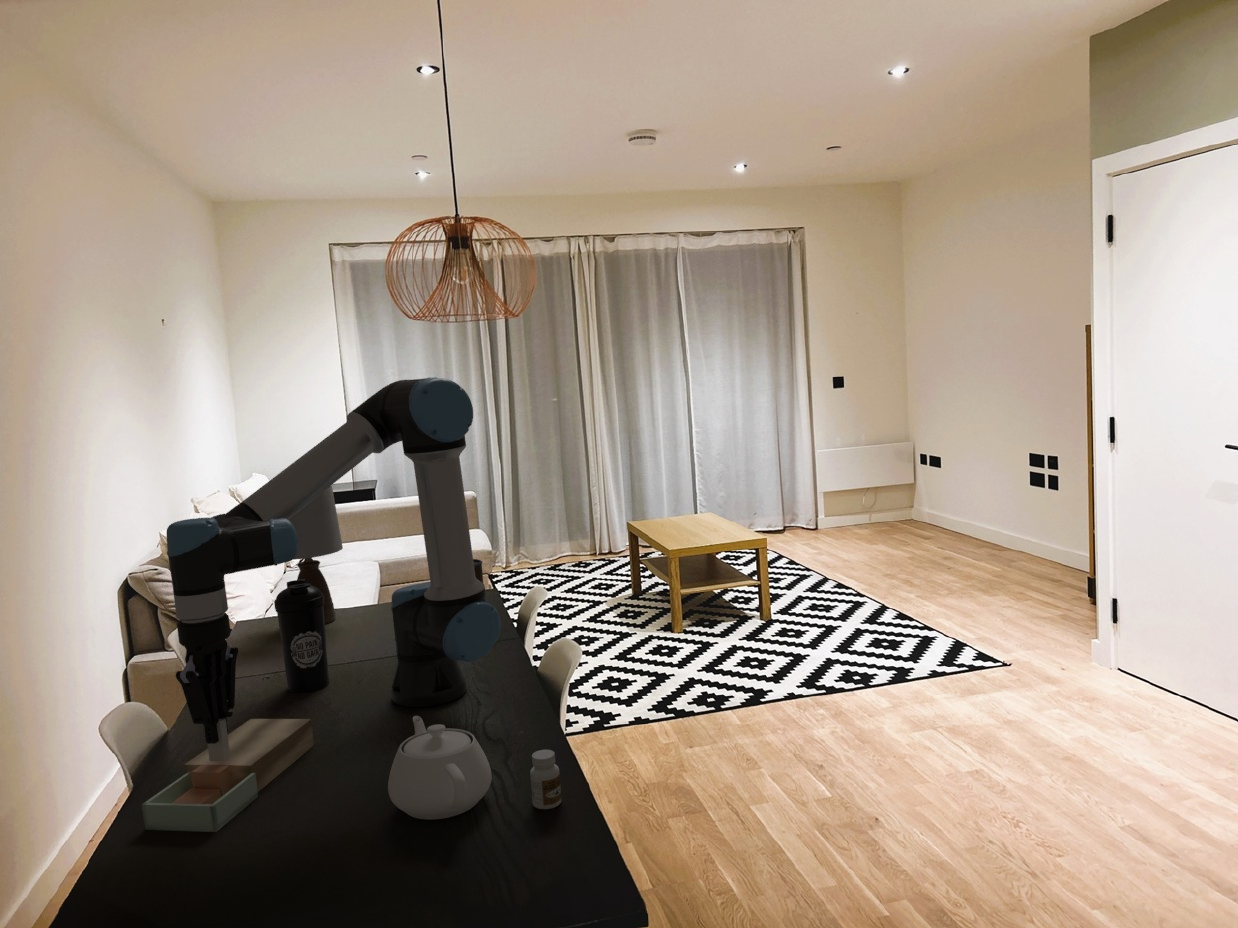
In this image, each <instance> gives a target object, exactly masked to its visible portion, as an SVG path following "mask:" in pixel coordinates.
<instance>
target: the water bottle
mask: <svg viewBox="0 0 1238 928" xmlns="http://www.w3.org/2000/svg"><path fill="white" fill-rule="evenodd" d="M273 602H274V603H273V604H274V609H275V612H276V614H277V622H278V627H279V634H280V641H281V647H282V648H281V649H282V655H283V662H284V668H285V669H284V670H285V678H286V684H287V690H288V692H290V693H295V694H302V693H303V694H304V693H310V692H312V693H313V692H316V691H319V690H321V689H325V688H326V687H327V686H329V683H330V678H329V666H328V665H329V664H328V663H329V662H328V651H327V638H326V636H327V635H326V624H325V622H324V609H323V605H324V594H323V593H321V591H320V590H319V589H318V588H317V587H314V586H311V584H310V583H306V582H305V579H300V580H297V579H295V580H289V581H286V588H285V589H284V588H283V589H282V590H281V591H280V592H279V593H277V596H276V598H275V599H274V601H273Z"/></svg>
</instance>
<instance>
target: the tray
mask: <svg viewBox="0 0 1238 928" xmlns="http://www.w3.org/2000/svg"><path fill="white" fill-rule="evenodd" d="M191 788H193V785H192V777H191V772H188V773H186V774H183V775H182V776H181V777H178V779H176V780H174V781H173V782H172V783H171V784H168V785H167V786H166V787H165V788H163V789H162V790H160V791H159V792H158V793H156V794H155V795H153V796H152V797H150V798H148V800H146V801H145V802H143V803H142V804H141V810H142V817H143V825H144V830H145V831H146V830H147V831H167V832H168V831H173V832H174V831H175V832H203V833H204V832H207V833H217V832H218V831H219V830H221V829H222V828H223V827H224V826H225V825H226V824H228V823H229V822H230V821H231V820H233V819H234V818H235V817H236V816H237V815H238V814H239V813H241V812H242V811H243V810H245V808H246V807H249V805H250V804H251V803H253V802H254V801H255V800H256V799H257V798H259V792H258V791H257V782H256V774H255V773H251V774H250V775H249V776H247V777H246V778H245V779H244V780H242V781H241V782H240V783H239V784H237V785H236V786H235V787H233V788H232V789H231V790H230V791H228V792H227V793H226V794H225V795H223V796H222V797H221V798H219V799H218V800H217V801H216V802H214V803H213V804H177V803H172V802H174V801H175V800H176V799H178V798H179V797H180V796H182V795H183V794H185V793H186V792H187V791H189V790H190V789H191Z"/></svg>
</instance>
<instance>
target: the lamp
mask: <svg viewBox="0 0 1238 928" xmlns="http://www.w3.org/2000/svg"><path fill="white" fill-rule="evenodd" d="M288 520H289V521H290V522H291V523H292V524H293V526H294V528H295V530H296V533H297V538H298V551H297V555H296V556H295V558H294V559H293V560H302V559H304V560H303V561H301V562H298V563H297V564H296V567H297V568H298V569H299V572H298V575H297V578H296V580H300V579H305V582H306V583H310V584H311V586H314V587H317V588H318V589H319V590H320V591H321V593H323V594H324V605H323V609H324V622H325V625H326V624H330V623H332V622H334V620H336V617H337V616H336V611H335V606H334V602H333V598H332V596H331V591H330V588H329V585H328V582H327V581H326V578H325V576H324V575H323V573H322V570H321V569H320V564H321V561H320V560H316V559H313V558H318V557H322V556H323V557H324V556H328V555H331V554H332V555H333V554H335V553H338V552H339V551H341V550H343V549H344V548H343V543H342V542H343V541H342V536H341V529H340V524H339V519H338V512H337V508H336V502H335V497H334V489H333V486H332V485H331V486H330V487H328V488H327V489H326V490H325V491H323V492H322V493H321V494H320V495H318V496H317V497H316V498H315V499H313V500H312V501H311V502H310V503H308V504H307V505H306V506H304V507H303V508H302V509H301V510H299V511H298V512H297V513H296V514H294V515H293V516H292V517H291V518H289V519H288ZM293 560H292V561H293Z"/></svg>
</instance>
